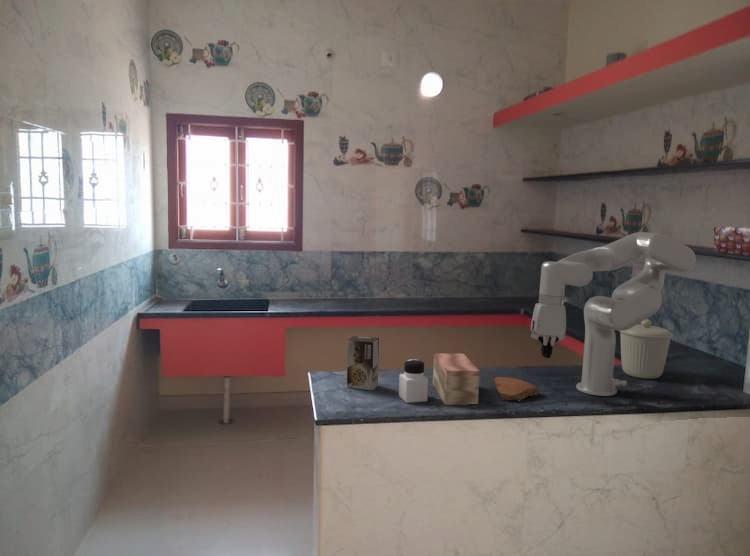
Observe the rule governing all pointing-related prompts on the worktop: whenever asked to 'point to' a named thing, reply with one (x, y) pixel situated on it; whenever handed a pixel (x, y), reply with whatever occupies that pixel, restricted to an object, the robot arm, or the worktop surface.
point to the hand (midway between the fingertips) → (546, 356)
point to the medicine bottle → (413, 382)
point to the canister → (644, 350)
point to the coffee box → (362, 362)
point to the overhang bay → (455, 379)
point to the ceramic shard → (514, 388)
